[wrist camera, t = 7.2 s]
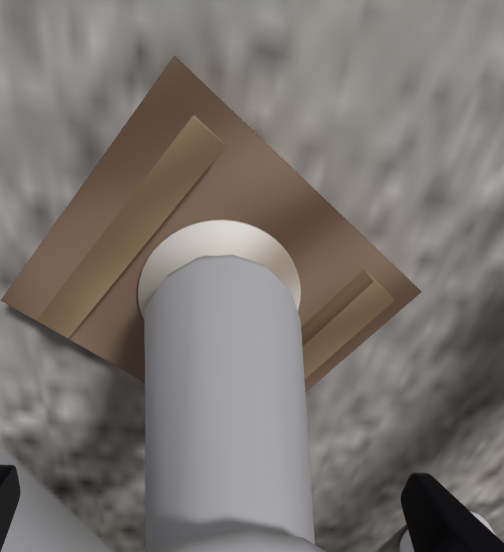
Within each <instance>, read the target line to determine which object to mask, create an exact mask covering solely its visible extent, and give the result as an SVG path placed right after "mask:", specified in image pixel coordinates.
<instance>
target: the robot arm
mask: <svg viewBox="0 0 504 552" xmlns="http://www.w3.org/2000/svg"><path fill="white" fill-rule="evenodd" d="M19 498H20V485H19V480H18V474H17V470H16V467H15V466H14V465H0V552H1V549H2V546H3V544H4V541H5V538H6V535H7V533H8V530H9V527H10V524H11V521H12V518H13V515H14V513H15V510H16V507H17V505H18V502H19ZM401 505H402V509H403V513H404V516H405V520H406V524H407V527H408V531H409V535H410V538H411V542H412V546H413V549H414V552H504V543H503V542H502V541H501V540H500V539H499V538H498V537H497V536H496V535H495V534H494V533H492V532H491V531H490V530H489V529H488V528H487V527H486V526H485V525H484V524H483V523H482V522H481V521H480V520H479V519H477V518H476V517H475V516H474V515H473V514H472V513H471V512H470V511H469V510H468V509H467V508H466V507H465V506H464V505H462V504H461V503H460V502H459V501H458V500H457V499H456V498H455V497H454V496H453V495H452V494H451V493H450V492H449V491H448V490H446V489H445V488H444V487H443V486H442V485H441V484H440V483H439V482H438V481H437V480H436V479H435V478H434V477H432V476H431V475H430V474H428V473H412V474H410V476H409V478H408V480H407V482H406V484H405V486H404V489H403V491H402V493H401Z"/></svg>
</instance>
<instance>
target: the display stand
mask: <svg viewBox="0 0 504 552" xmlns="http://www.w3.org/2000/svg"><path fill="white" fill-rule="evenodd" d="M231 254H233V255H236V256H239V257H242V258H245V259H248V260H251V261H254V262H257V263H260V264H263V265H266V266H267V267H268V268H269V269H270V270H271V271H272V272H273V273H274V274H275V275H276V276H277V277H278V278H279V279H280V280H281V281H282V282H283V283H284V284H285V285H286V286H287V287H288V288H289V289H290V291H291V292H292V295H293V298H294V301H295V304H296V308H297V311H298V314H299V318H300V321H301V333H302V349H303V365H304V380H305V392H306V391H307V390H309V389H310V388H311V387H312V386H313V385H314V384H316V383H317V382H318V381H319V380H320V379H321V378H323V377H324V376H325V375H326V374H327V373H328V372H329V371H331V370H332V369H333V368H334V367H335V366H336V365H338V364H339V363H340V362H341V361H342V360H343V359H344V358H346V357H347V356H348V355H349V354H350V353H351V352H353V351H354V350H355V349H356V348H357V347H358V346H360V345H361V344H362V343H363V342H364V341H365V340H366V339H368V338H369V337H370V336H371V335H372V334H373V333H375V332H376V331H377V330H378V329H379V328H380V327H381V326H383V325H384V324H385V323H386V322H387V321H388V320H390V319H391V318H392V317H393V316H394V315H395V314H397V313H398V312H399V311H400V310H401V309H402V308H403V307H405V306H406V305H407V304H408V303H409V302H410V301H412V300H413V299H414V298H415V297H416V296H417V295H418V294H420V293H421V291H420V290H419V289H418V288H417V287H416V286H415V285H414V284H413V283H412V282H411V281H410V280H409V279H408V278H407V277H406V276H405V275H404V274H403V273H401V272H400V271H399V270H398V269H397V268H396V267H395V266H394V265H393V264H392V263H391V262H390V261H389V260H388V259H387V258H386V257H385V256H384V255H383V254H382V253H381V252H379V251H378V250H377V249H376V248H375V247H374V246H373V245H372V244H371V243H370V242H369V241H368V240H367V239H366V238H365V237H364V236H363V235H362V234H361V233H360V232H359V231H358V230H356V229H355V228H354V227H353V226H352V225H351V224H350V223H349V222H348V221H347V220H346V219H345V218H344V217H343V216H342V215H341V214H340V213H339V212H338V211H337V210H336V209H334V208H333V207H332V206H331V205H330V204H329V203H328V202H327V201H326V200H325V199H324V198H323V197H322V196H321V195H320V194H319V193H318V192H317V191H316V190H315V189H314V188H313V187H311V186H310V185H309V184H308V183H307V182H306V181H305V180H304V179H303V178H302V177H301V176H300V175H299V174H298V173H297V172H296V171H295V170H294V169H293V168H292V167H291V166H289V165H288V164H287V163H286V162H285V161H284V160H283V159H282V158H281V157H280V156H279V155H278V154H277V153H276V152H275V151H274V150H273V149H272V148H271V147H270V146H269V145H268V144H266V143H265V142H264V141H263V140H262V139H261V138H260V137H259V136H258V135H257V134H256V133H255V132H254V131H253V130H252V129H251V128H250V127H249V126H248V125H247V124H246V123H244V122H243V121H242V120H241V119H240V118H239V117H238V116H237V115H236V114H235V113H234V112H233V111H232V110H231V109H230V108H229V107H228V106H227V105H226V104H225V103H224V102H223V101H221V100H220V99H219V98H218V97H217V96H216V95H215V94H214V93H213V92H212V91H211V90H210V89H209V88H208V87H207V86H206V85H205V84H204V83H203V82H202V81H201V80H200V79H198V78H197V77H196V76H195V75H194V74H193V73H192V72H191V71H190V70H189V69H188V68H187V67H186V66H185V65H184V64H183V63H182V62H181V61H180V60H179V59H177V58H176V57H175V56H174V57H173V58H172V60H171V61H170V63H169V64H168V65H167V67H166V68H165V70H164V71H163V72H162V74H161V75H160V77H159V78H158V79H157V81H156V82H155V84H154V85H153V87H152V88H151V89H150V91H149V92H148V94H147V95H146V96H145V98H144V99H143V101H142V102H141V103H140V105H139V106H138V108H137V109H136V110H135V112H134V113H133V115H132V116H131V118H130V119H129V120H128V122H127V123H126V125H125V126H124V127H123V129H122V130H121V132H120V133H119V134H118V136H117V137H116V139H115V140H114V141H113V143H112V144H111V146H110V147H109V149H108V150H107V151H106V153H105V154H104V156H103V157H102V158H101V160H100V161H99V163H98V164H97V165H96V167H95V168H94V170H93V171H92V172H91V174H90V175H89V177H88V178H87V180H86V181H85V182H84V184H83V185H82V187H81V188H80V189H79V191H78V192H77V194H76V195H75V196H74V198H73V199H72V201H71V202H70V203H69V205H68V206H67V208H66V209H65V211H64V212H63V213H62V215H61V216H60V218H59V219H58V220H57V222H56V223H55V225H54V226H53V227H52V229H51V230H50V232H49V233H48V234H47V236H46V237H45V239H44V240H43V242H42V243H41V244H40V246H39V247H38V249H37V250H36V251H35V253H34V254H33V256H32V257H31V258H30V260H29V261H28V263H27V264H26V265H25V267H24V268H23V270H22V271H21V273H20V274H19V275H18V277H17V278H16V280H15V281H14V282H13V284H12V285H11V287H10V288H9V289H8V291H7V292H6V294H5V295H4V296H3V298H2V299H1V301H2V302H4V303H6V304H8V305H9V306H11V307H13V308H15V309H16V310H18V311H20V312H22V313H23V314H25V315H27V316H29V317H31V318H32V319H34V320H36V321H38V322H39V323H41V324H43V325H45V326H46V327H48V328H50V329H52V330H54V331H55V332H57V333H59V334H61V335H62V336H64V337H66V338H68V339H69V340H71V341H73V342H75V343H77V344H78V345H80V346H82V347H84V348H85V349H87V350H89V351H91V352H92V353H94V354H96V355H98V356H100V357H101V358H103V359H105V360H107V361H108V362H110V363H112V364H114V365H115V366H117V367H119V368H121V369H123V370H124V371H126V372H128V373H130V374H131V375H133V376H135V377H137V378H138V379H140V380H142V381H144V382H145V341H144V332H145V308H146V306H147V305H148V303H149V302H150V300H151V299H152V297H153V296H154V294H155V293H156V291H157V290H158V288H159V287H160V285H161V283H162V282H163V280H164V279H165V278H166V276H167V275H168V274H170V273H172V272H173V271H175V270H177V269H179V268H180V267H182V266H184V265H185V264H187V263H189V262H190V261H192V260H194V259H195V258H198V257H202V256H205V255H208V256H221V255H231Z"/></svg>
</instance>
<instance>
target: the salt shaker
mask: <svg viewBox="0 0 504 552" xmlns="http://www.w3.org/2000/svg"><path fill="white" fill-rule="evenodd" d="M144 341H145V492H146V552H326V551H324V550H323V549H321V548H319V547H318V546H316V545H315V538H314V522H313V506H312V491H311V475H310V459H309V443H308V428H307V412H306V396H305V380H304V365H303V349H302V333H301V321H300V318H299V314H298V311H297V308H296V304H295V301H294V298H293V295H292V292H291V291H290V289H289V288H288V287H287V286H286V285H285V284H284V283H283V282H282V281H281V280H280V279H279V278H278V277H277V276H276V275H275V274H274V273H273V272H272V271H271V270H270V269H269V268H268V267H267V266H266V265H263V264H260V263H257V262H254V261H251V260H248V259H245V258H242V257H239V256H236V255H233V254H231V255H221V256H208V255H205V256H202V257H198V258H195V259H194V260H192V261H190V262H189V263H187V264H185V265H184V266H182V267H180V268H179V269H177V270H175V271H173V272H172V273H170V274H168V275H167V276H166V278H165V279H164V280H163V282H162V283H161V285H160V287H159V288H158V290H157V291H156V293H155V294H154V296H153V297H152V299H151V300H150V302H149V303H148V305H147V306H146V308H145V332H144Z"/></svg>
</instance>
